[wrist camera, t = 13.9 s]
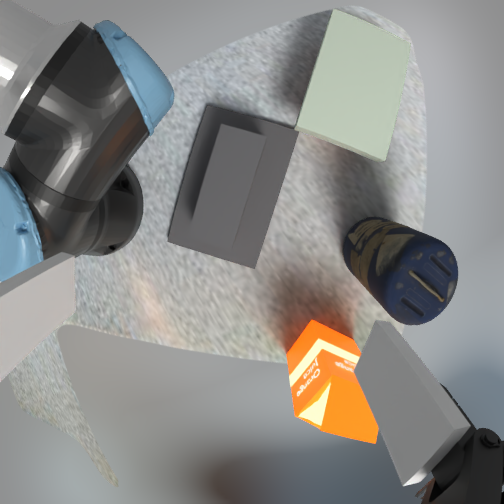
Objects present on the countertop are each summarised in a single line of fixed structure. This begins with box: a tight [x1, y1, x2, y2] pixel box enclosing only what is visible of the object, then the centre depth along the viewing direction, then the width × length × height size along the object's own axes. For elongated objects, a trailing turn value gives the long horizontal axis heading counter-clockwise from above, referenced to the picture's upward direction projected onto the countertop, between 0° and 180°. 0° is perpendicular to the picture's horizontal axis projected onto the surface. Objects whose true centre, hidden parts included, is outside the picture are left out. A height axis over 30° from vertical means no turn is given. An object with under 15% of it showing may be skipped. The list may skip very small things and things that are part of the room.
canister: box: [343, 217, 458, 325], centre depth 32 cm, size 10×10×18 cm
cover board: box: [294, 9, 411, 162], centre depth 28 cm, size 11×18×2 cm, turn 163°
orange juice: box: [287, 320, 378, 443], centre depth 35 cm, size 8×9×20 cm
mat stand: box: [167, 105, 299, 269], centre depth 36 cm, size 13×20×6 cm, turn 163°
